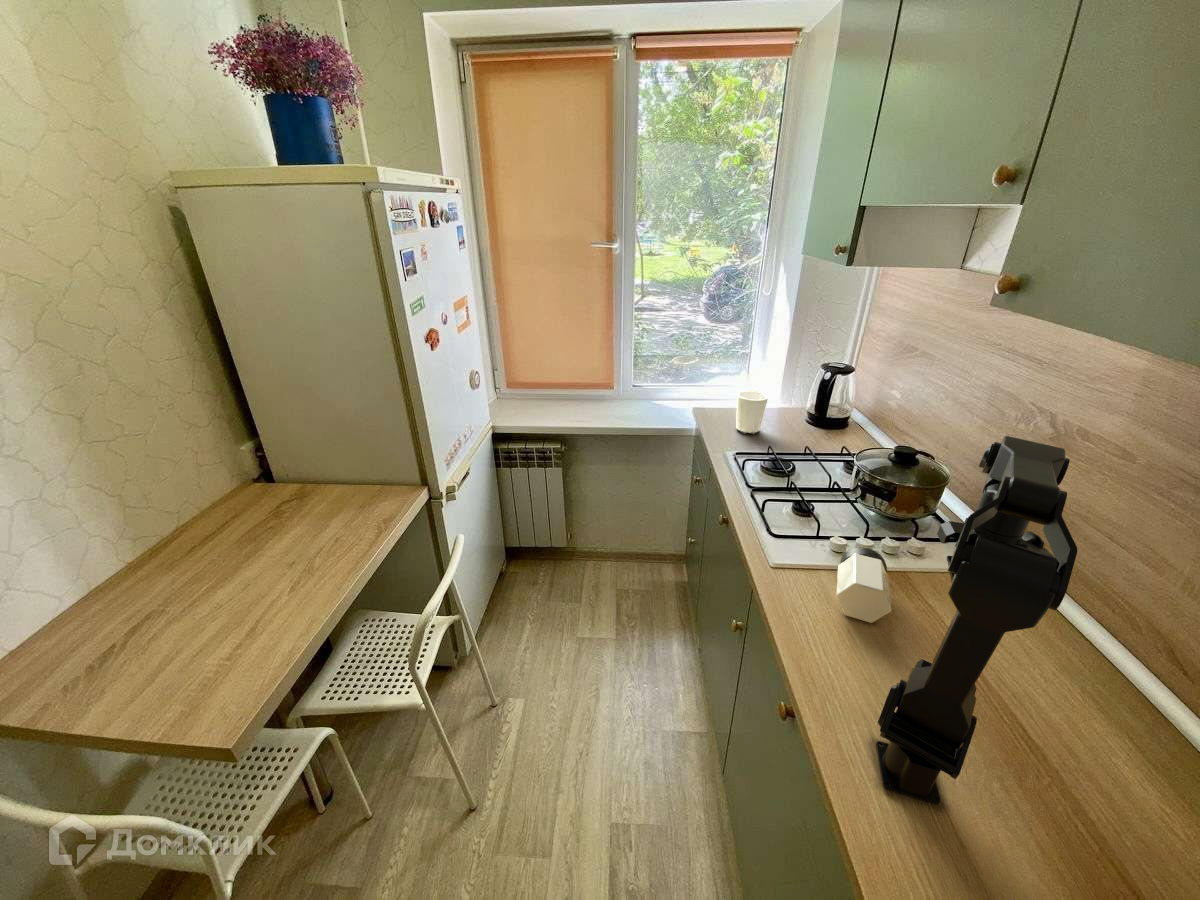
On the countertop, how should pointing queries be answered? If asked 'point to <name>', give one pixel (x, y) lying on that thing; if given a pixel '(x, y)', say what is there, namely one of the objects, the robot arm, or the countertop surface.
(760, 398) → the cup
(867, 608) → the jar
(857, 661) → the countertop surface
